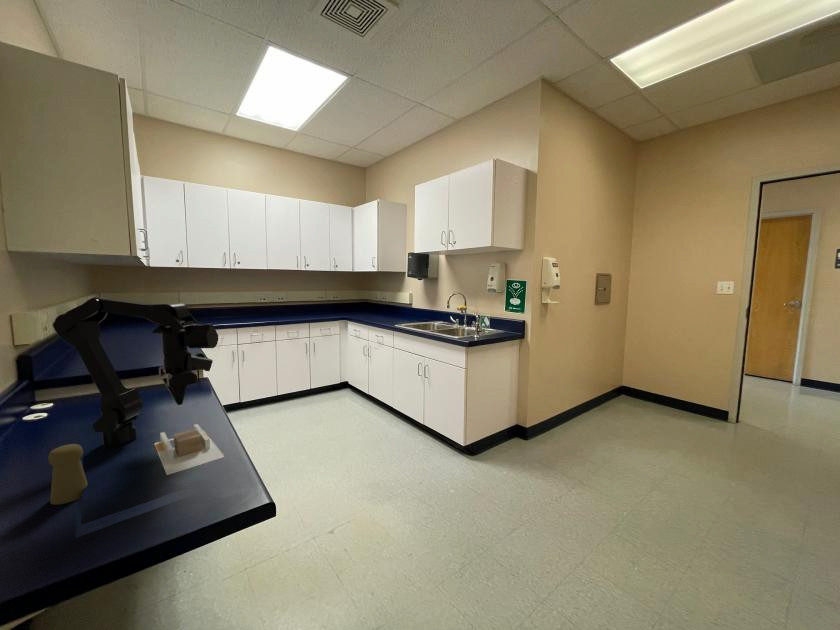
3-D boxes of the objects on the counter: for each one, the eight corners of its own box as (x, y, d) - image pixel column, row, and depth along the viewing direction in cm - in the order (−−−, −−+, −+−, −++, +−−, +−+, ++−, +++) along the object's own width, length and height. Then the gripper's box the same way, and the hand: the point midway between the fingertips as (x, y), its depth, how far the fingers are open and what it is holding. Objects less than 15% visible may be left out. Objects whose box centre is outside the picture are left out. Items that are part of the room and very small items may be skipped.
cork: (54, 508, 70) (48, 456, 69) (46, 498, 74) (40, 449, 72) (93, 492, 75) (89, 444, 74) (84, 484, 79) (79, 438, 78)
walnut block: (174, 449, 92) (173, 434, 92) (196, 443, 95) (195, 429, 95) (178, 457, 88) (177, 442, 87) (201, 450, 91) (200, 435, 91)
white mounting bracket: (154, 448, 96) (153, 434, 95) (204, 435, 104) (203, 422, 103) (167, 481, 80) (166, 464, 79) (225, 462, 88) (224, 447, 88)
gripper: (217, 349, 94) (220, 405, 95) (201, 341, 107) (204, 390, 109) (167, 355, 86) (171, 416, 88) (156, 346, 100) (160, 398, 101)
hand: (179, 403), depth 96 cm, fingers closed
